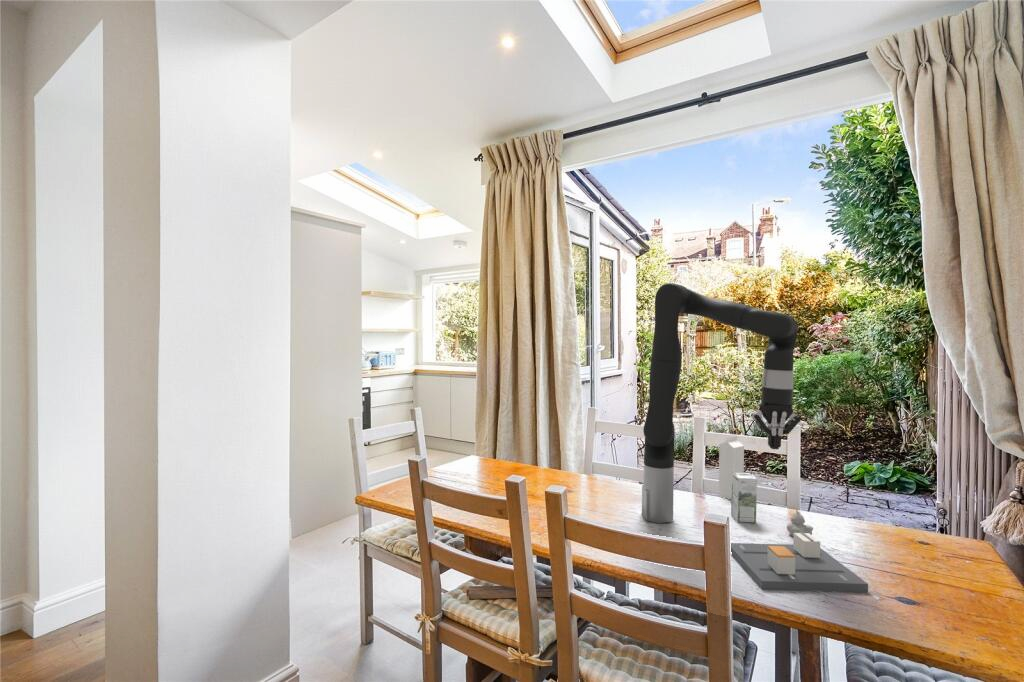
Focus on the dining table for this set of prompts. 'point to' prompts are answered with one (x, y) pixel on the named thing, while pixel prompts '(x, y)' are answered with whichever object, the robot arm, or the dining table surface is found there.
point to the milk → (729, 464)
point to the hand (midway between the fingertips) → (774, 448)
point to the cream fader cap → (806, 545)
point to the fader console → (797, 571)
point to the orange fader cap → (781, 560)
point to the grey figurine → (798, 524)
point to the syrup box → (744, 497)
